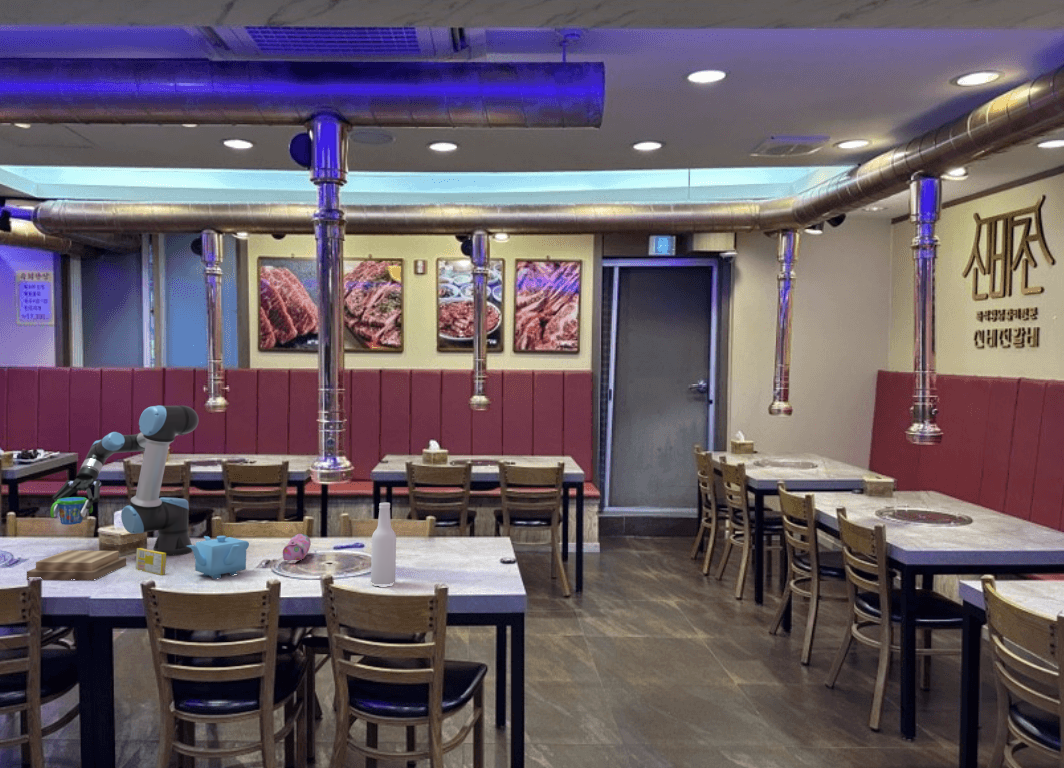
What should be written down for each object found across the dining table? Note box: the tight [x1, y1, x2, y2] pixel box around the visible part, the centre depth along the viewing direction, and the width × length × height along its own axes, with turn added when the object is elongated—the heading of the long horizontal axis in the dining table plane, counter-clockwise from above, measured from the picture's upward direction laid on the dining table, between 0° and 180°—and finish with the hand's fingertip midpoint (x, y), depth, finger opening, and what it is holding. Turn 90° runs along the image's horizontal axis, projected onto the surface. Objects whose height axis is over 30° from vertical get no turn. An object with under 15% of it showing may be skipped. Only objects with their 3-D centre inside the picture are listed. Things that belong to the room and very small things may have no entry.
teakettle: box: [187, 535, 250, 580], centre depth 293 cm, size 19×19×15 cm
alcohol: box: [370, 501, 397, 584], centre depth 284 cm, size 9×9×30 cm
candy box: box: [135, 547, 167, 576], centre depth 296 cm, size 16×2×8 cm, turn 59°
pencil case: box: [282, 533, 312, 561], centre depth 323 cm, size 21×9×9 cm, turn 7°
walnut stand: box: [26, 549, 127, 581], centre depth 293 cm, size 24×24×6 cm
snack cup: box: [49, 496, 94, 526], centre depth 316 cm, size 16×10×10 cm
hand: (68, 514), depth 314 cm, fingers closed on snack cup, 11 cm apart
